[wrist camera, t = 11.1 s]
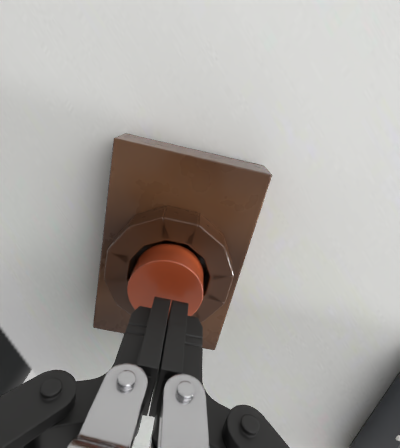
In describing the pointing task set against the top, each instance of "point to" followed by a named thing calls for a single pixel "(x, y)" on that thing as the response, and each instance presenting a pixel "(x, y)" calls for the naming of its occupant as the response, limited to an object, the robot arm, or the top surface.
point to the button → (167, 277)
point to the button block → (177, 222)
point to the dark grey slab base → (382, 422)
